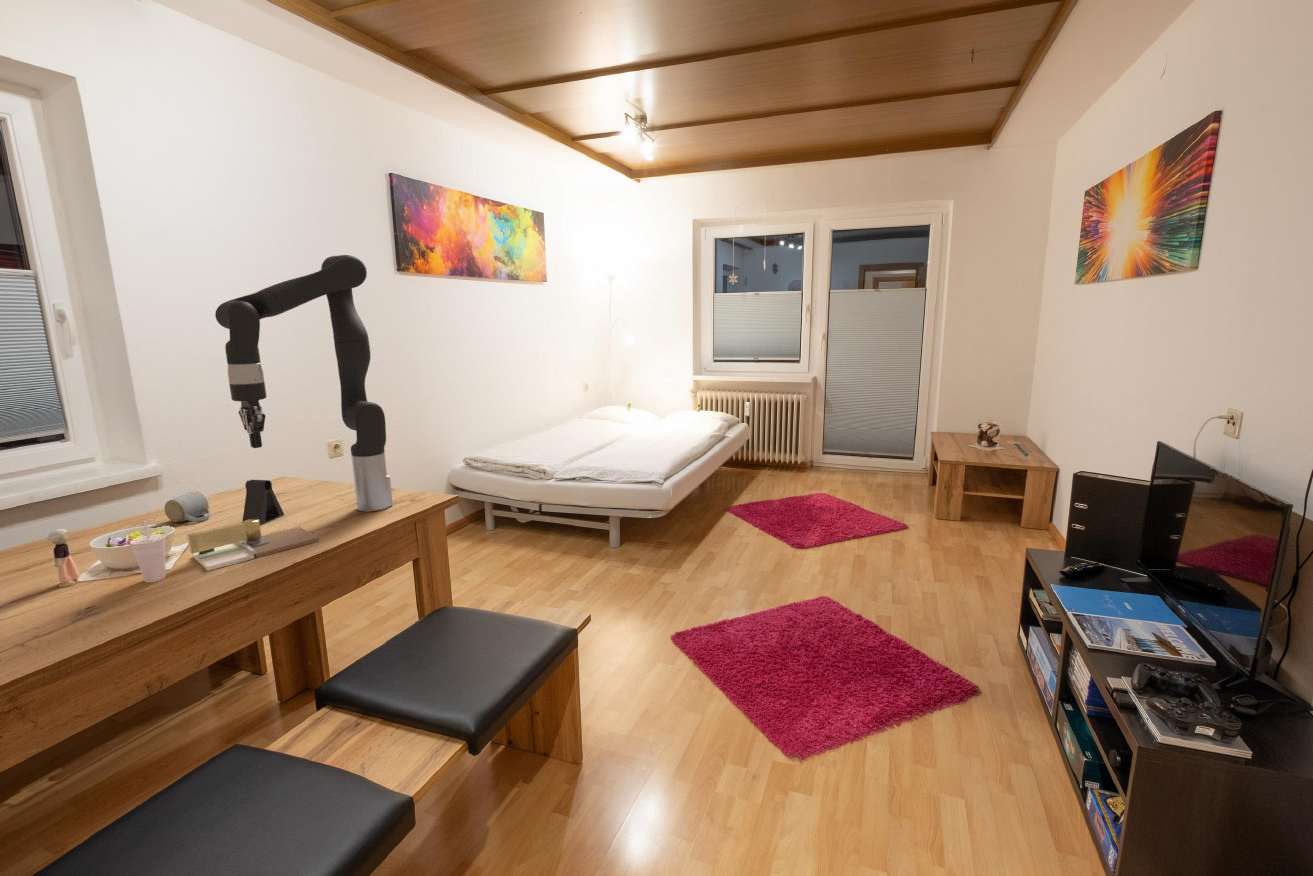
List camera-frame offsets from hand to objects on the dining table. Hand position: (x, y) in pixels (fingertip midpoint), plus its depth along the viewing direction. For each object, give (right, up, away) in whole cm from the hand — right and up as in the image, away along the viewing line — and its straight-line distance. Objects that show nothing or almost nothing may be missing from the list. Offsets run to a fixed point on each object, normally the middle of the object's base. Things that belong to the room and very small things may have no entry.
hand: (256, 447), depth 157 cm
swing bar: (-3, -24, -7) cm, 25 cm away
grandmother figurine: (-28, -30, -21) cm, 47 cm away
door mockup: (+2, -26, -3) cm, 26 cm away
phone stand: (-11, -22, +20) cm, 31 cm away
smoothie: (-10, -30, -20) cm, 37 cm away
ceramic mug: (-33, -22, +21) cm, 44 cm away
